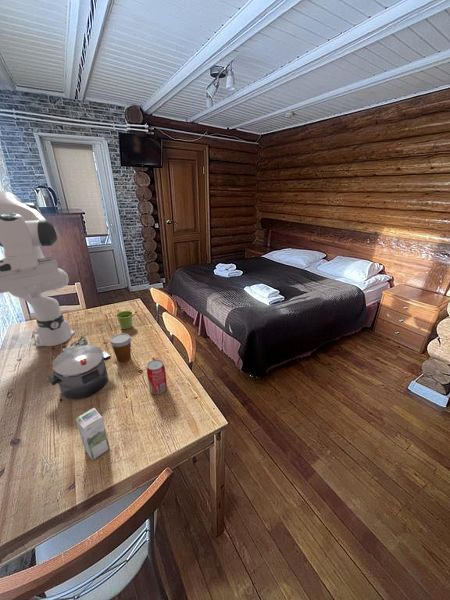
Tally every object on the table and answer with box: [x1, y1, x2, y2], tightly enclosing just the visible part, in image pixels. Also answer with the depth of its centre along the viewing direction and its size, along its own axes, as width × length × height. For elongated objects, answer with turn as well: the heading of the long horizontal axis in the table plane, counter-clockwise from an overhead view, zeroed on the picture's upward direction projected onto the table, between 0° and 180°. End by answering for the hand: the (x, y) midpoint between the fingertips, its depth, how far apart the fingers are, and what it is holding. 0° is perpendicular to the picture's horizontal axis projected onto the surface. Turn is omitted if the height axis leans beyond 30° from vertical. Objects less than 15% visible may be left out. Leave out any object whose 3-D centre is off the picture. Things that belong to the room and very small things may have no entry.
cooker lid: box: [52, 344, 104, 377], centre depth 105 cm, size 20×18×4 cm
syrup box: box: [75, 407, 111, 461], centre depth 80 cm, size 6×6×14 cm
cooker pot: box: [46, 350, 111, 401], centre depth 107 cm, size 19×23×11 cm
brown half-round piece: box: [68, 335, 89, 347], centre depth 123 cm, size 12×6×10 cm, turn 168°
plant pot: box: [115, 310, 134, 330], centre depth 153 cm, size 9×9×9 cm
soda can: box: [146, 359, 168, 395], centre depth 105 cm, size 7×7×13 cm
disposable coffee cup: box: [109, 333, 132, 364], centre depth 124 cm, size 10×10×12 cm
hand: (34, 296), depth 97 cm, fingers closed
